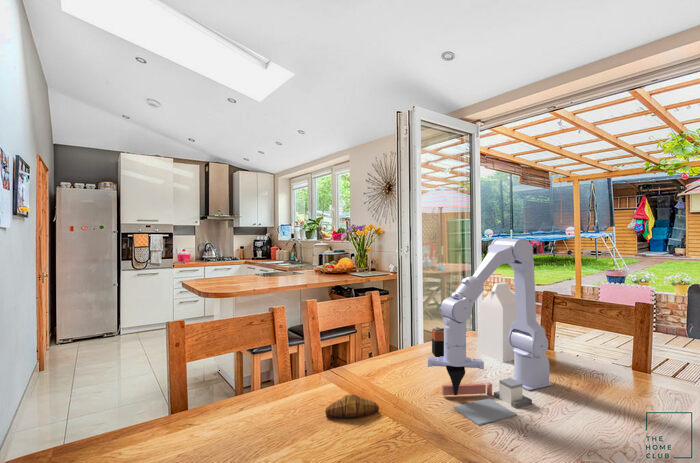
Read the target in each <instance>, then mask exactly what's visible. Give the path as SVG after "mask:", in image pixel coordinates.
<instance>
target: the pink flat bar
mask: <svg viewBox="0 0 700 463" xmlns="http://www.w3.org/2000/svg"><path fill="white" fill-rule="evenodd" d="M485 394H486V395H487V397H492V396H493V383H491V382H486V384H485V383H482V382H481V383H460V385H459V388H458V393H457V395H456V396H459V395H463V396H464V395H485ZM441 395H442V396H455V395H454V392H453V386H452V384H442V385H441Z"/></svg>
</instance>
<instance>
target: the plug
mask: <svg viewBox="0 0 700 463" xmlns="http://www.w3.org/2000/svg"><path fill="white" fill-rule="evenodd" d="M498 384H499V385H498V386H499V390H498V391H499V399H500V400H501V401H503V402H505V403H506V404H509V405H510V406H511V402H513V401H517V400H521V399H522V395H523V384H522V383H520V382H518V381H516V380H514V379H512V378H511V377H507V378H504V379H499V383H498Z"/></svg>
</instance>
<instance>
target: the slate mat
mask: <svg viewBox="0 0 700 463" xmlns="http://www.w3.org/2000/svg"><path fill="white" fill-rule="evenodd" d="M453 409H454V410H456V411H457V412H459V413H460V414H461V415H463V416H464V417H465V418H467V419H469V420H470V421H471V422H472V423H474V424H476V425H477V426H482V425H486V424H489V423H493V422H496V421H500V420H504V419H507V418H510V417H511V418H512V417H515V416H518V414H517V413H516V412H514V411H512V410H510V409H509V408H507V407H505V406H503V405H501V404H500V403H499V402H496V401H495V400H493V399H491V398H490V397H489V398H485V399H480V400H475V401H471V402H469V403H468V402H467V403H463V404H459V405H455V406H453Z"/></svg>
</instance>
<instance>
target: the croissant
mask: <svg viewBox="0 0 700 463" xmlns="http://www.w3.org/2000/svg"><path fill="white" fill-rule="evenodd" d="M379 410H380V407H379V404H378V403H376V402H375V401H373V400H370V399H367V398H365V397H361V396H359V395H357V394H353V393H350V394H347V395H344V396H343V397H341V398H340V399H338V400H336V401H334V402H332V403H330V404H329V405H328V406H327V407H325V412H324V413H325V416H326V417H329V418H335V419H336V418H338V419H340V418H342V419H343V418H347V419H348V418H350V419H351V418H353V419H355V418H358V417H363V416H370V415H374V414H377V413H378V412H379Z"/></svg>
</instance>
